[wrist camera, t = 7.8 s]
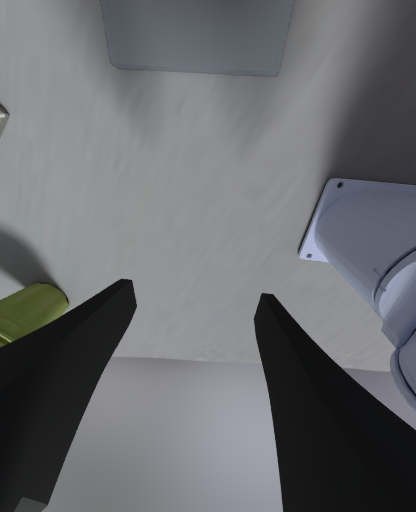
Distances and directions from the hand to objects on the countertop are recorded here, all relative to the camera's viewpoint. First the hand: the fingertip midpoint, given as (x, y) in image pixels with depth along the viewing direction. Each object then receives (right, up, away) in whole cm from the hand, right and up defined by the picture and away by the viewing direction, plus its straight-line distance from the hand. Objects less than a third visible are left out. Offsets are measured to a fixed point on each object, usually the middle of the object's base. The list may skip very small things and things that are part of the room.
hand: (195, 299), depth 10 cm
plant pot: (-25, -4, +19) cm, 31 cm away
